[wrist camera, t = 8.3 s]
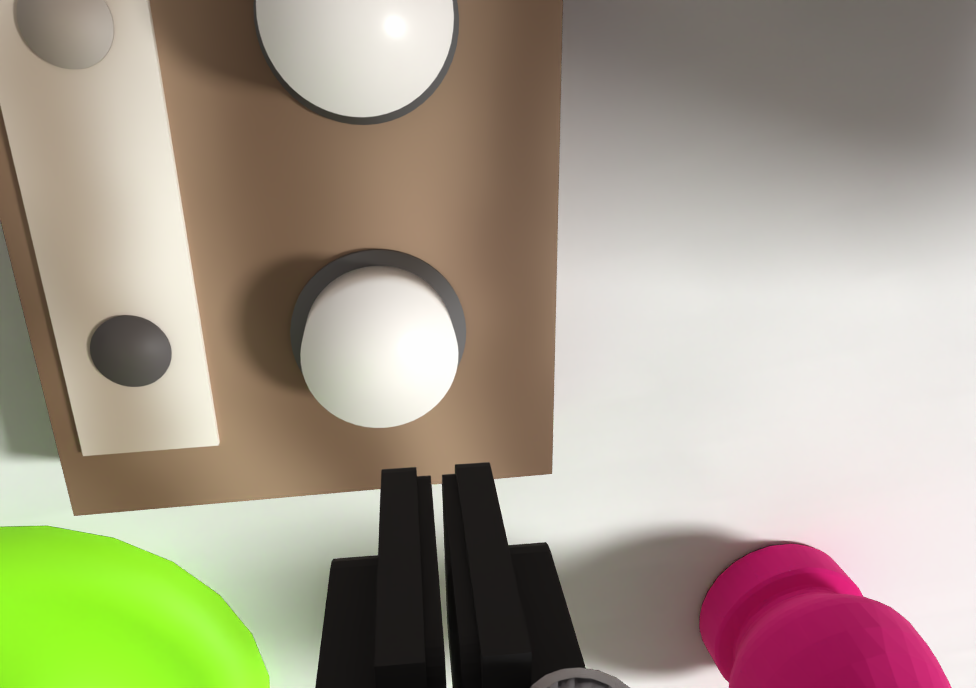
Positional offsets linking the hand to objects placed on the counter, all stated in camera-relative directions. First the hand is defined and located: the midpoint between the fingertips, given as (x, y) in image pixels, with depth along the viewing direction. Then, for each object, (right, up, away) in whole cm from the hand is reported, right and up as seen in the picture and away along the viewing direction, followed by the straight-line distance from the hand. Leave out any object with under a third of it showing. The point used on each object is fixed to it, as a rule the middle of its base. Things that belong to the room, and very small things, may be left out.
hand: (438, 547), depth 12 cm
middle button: (-2, +10, +5) cm, 12 cm away
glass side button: (-2, +3, +9) cm, 10 cm away
